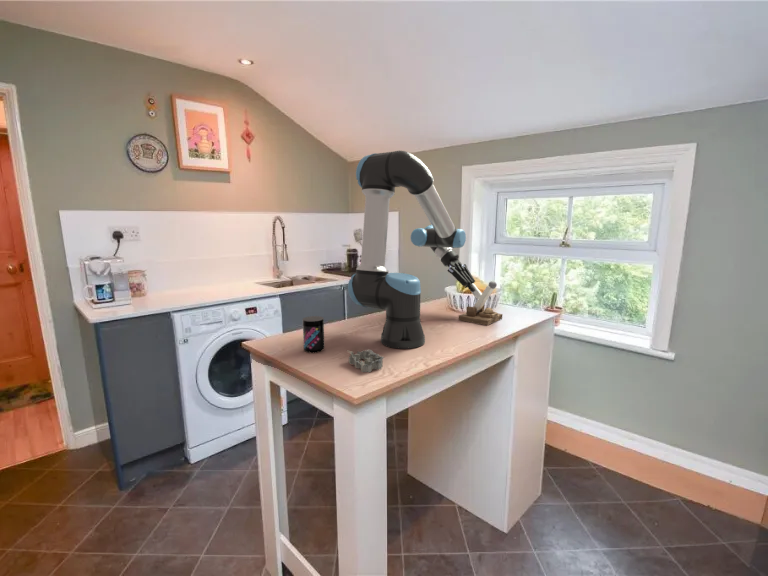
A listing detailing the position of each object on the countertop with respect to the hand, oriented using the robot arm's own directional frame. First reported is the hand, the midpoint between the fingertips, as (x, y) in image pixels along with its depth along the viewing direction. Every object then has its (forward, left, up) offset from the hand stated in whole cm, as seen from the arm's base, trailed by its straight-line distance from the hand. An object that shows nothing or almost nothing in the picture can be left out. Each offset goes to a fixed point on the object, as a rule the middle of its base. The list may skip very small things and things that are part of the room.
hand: (479, 297), depth 158 cm
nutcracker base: (0, -1, -10) cm, 10 cm away
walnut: (0, -4, -8) cm, 9 cm away
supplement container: (-70, +23, -10) cm, 74 cm away
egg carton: (-69, +1, -10) cm, 70 cm away
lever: (0, +2, -6) cm, 6 cm away
